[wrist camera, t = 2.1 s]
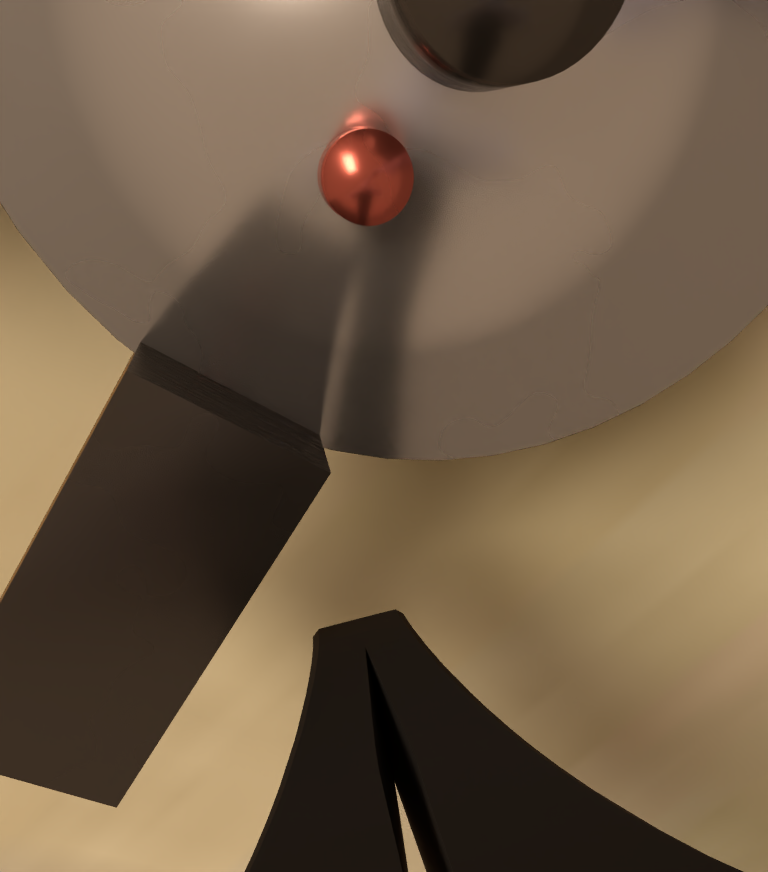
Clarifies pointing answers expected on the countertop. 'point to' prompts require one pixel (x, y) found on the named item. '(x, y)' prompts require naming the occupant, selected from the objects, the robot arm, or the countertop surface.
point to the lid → (341, 285)
